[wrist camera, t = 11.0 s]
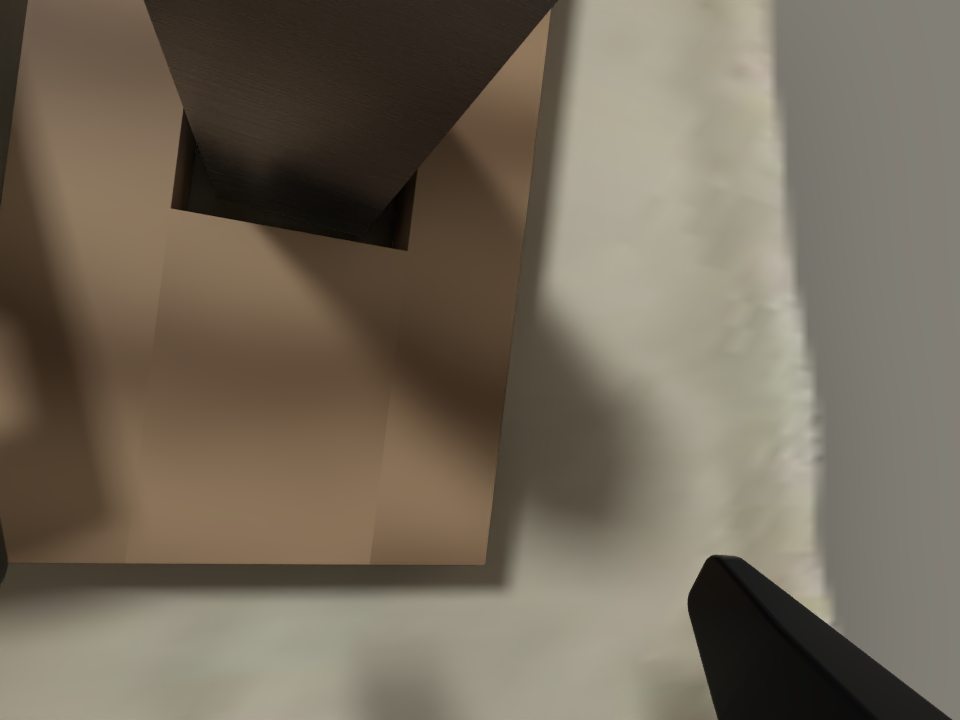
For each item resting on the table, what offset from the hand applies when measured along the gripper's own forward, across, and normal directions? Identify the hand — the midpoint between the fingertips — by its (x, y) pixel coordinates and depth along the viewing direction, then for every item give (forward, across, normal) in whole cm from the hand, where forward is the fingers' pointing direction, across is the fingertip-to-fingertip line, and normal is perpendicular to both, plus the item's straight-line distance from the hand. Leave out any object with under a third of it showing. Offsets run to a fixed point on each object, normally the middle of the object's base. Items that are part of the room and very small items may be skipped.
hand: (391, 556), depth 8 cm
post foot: (+13, +3, -2) cm, 13 cm away
